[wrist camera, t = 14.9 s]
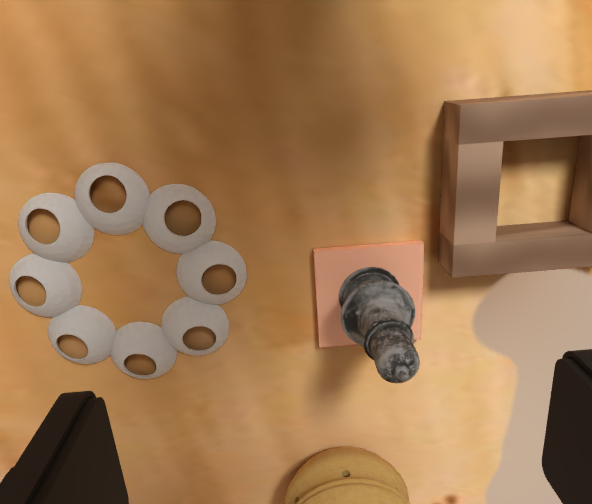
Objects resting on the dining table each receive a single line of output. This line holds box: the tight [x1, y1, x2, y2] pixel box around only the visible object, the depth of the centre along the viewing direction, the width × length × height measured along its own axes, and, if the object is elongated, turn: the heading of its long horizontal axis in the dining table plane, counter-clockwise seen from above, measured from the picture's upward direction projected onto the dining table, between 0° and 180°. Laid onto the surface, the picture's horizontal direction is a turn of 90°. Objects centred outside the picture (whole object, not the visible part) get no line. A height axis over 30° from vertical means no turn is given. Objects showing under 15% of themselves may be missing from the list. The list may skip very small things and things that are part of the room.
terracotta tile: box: [313, 240, 424, 348], centre depth 43 cm, size 9×9×1 cm
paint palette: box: [9, 163, 247, 379], centre depth 41 cm, size 20×20×2 cm
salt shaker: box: [339, 267, 420, 383], centre depth 37 cm, size 6×6×12 cm
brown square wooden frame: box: [438, 90, 592, 278], centre depth 38 cm, size 13×14×4 cm
